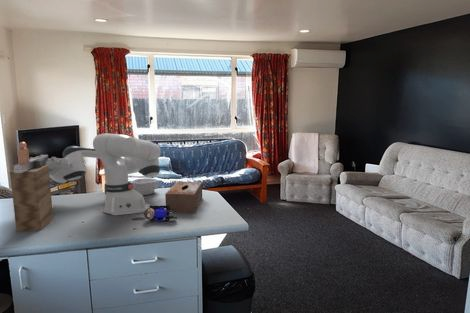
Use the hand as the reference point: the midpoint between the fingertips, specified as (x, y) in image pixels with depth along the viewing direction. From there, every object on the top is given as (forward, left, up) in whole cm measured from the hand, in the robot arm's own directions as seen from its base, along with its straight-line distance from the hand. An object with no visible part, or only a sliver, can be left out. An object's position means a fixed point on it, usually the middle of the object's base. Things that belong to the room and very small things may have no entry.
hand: (42, 158), depth 165 cm
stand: (0, +14, -28) cm, 31 cm away
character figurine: (-56, +17, -28) cm, 65 cm away
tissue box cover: (-67, -6, -28) cm, 73 cm away
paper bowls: (-43, -33, -28) cm, 61 cm away
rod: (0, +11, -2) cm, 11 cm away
